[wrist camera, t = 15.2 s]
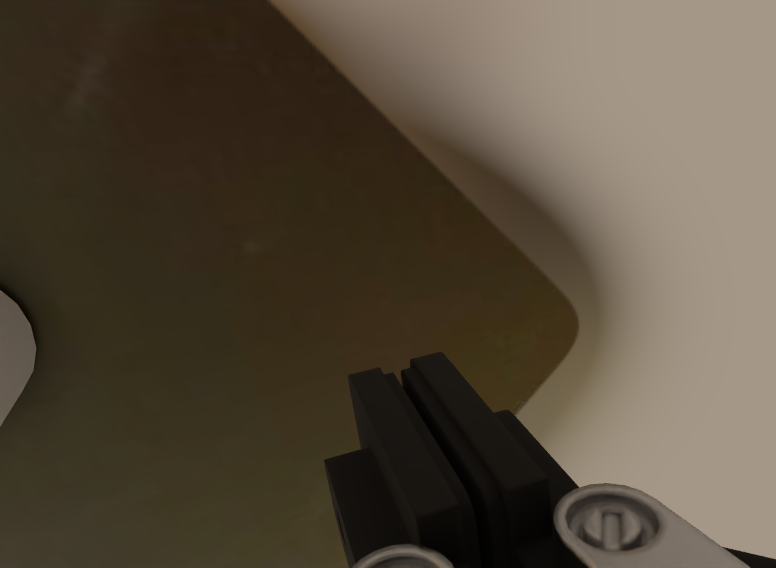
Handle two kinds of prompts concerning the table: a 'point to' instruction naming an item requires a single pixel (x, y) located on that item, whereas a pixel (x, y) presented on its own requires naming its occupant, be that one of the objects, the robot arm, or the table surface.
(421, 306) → the table surface
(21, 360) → the can
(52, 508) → the table surface
